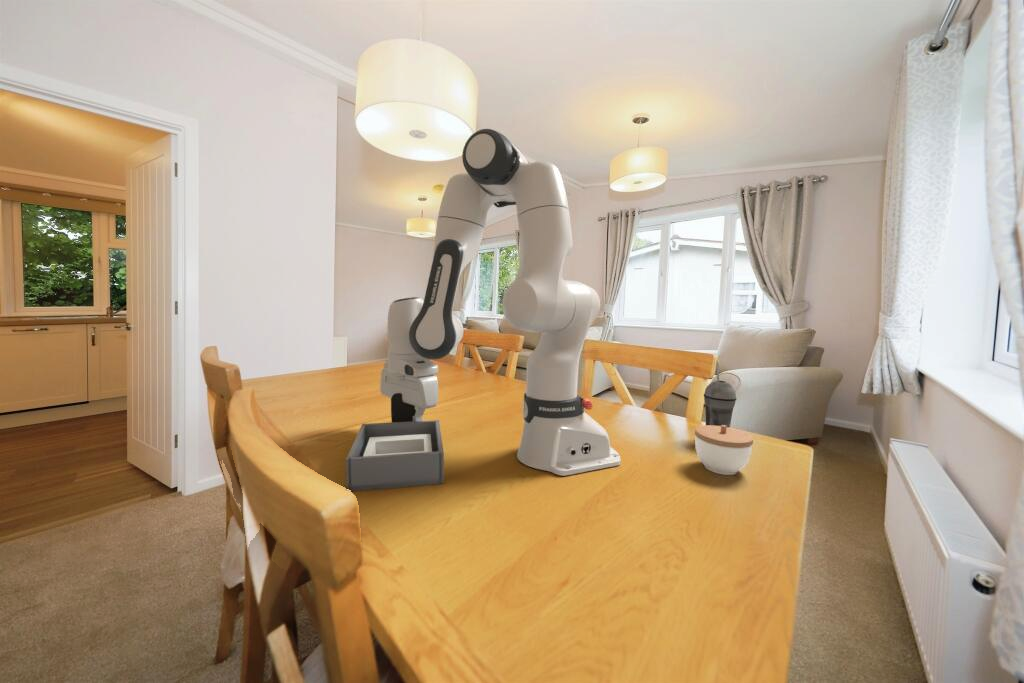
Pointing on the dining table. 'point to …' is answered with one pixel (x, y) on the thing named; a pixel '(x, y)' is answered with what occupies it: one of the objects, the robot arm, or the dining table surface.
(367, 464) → the socket box
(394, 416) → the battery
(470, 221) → the robot arm
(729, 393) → the beverage cup
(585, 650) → the dining table surface
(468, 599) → the dining table surface
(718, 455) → the lidded jar
